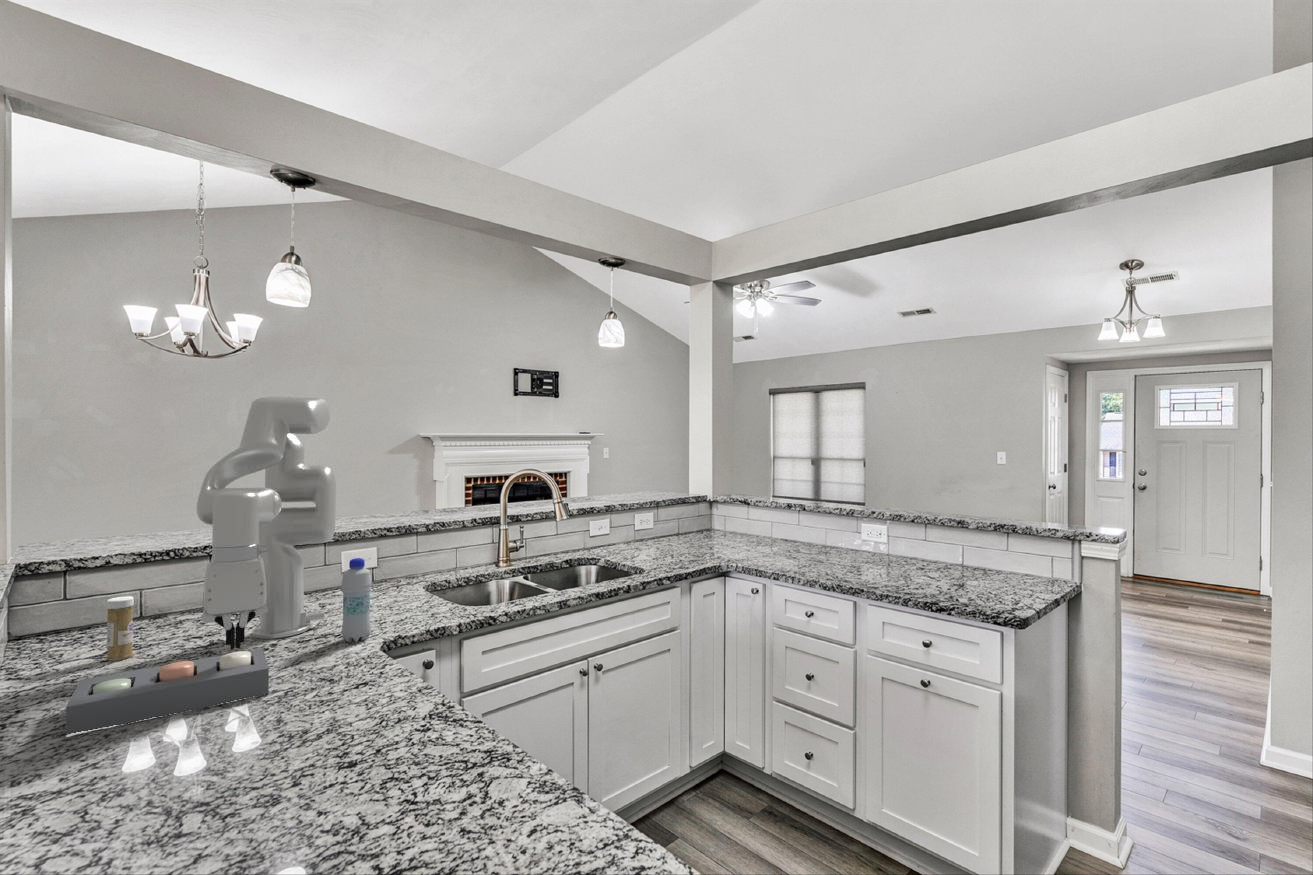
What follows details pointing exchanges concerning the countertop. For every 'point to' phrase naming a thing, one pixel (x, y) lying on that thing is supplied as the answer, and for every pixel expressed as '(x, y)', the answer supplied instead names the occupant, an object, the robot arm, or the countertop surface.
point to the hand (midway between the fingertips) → (235, 647)
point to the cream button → (235, 660)
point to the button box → (164, 693)
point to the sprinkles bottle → (120, 628)
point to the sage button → (112, 685)
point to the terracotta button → (176, 670)
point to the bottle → (356, 601)
